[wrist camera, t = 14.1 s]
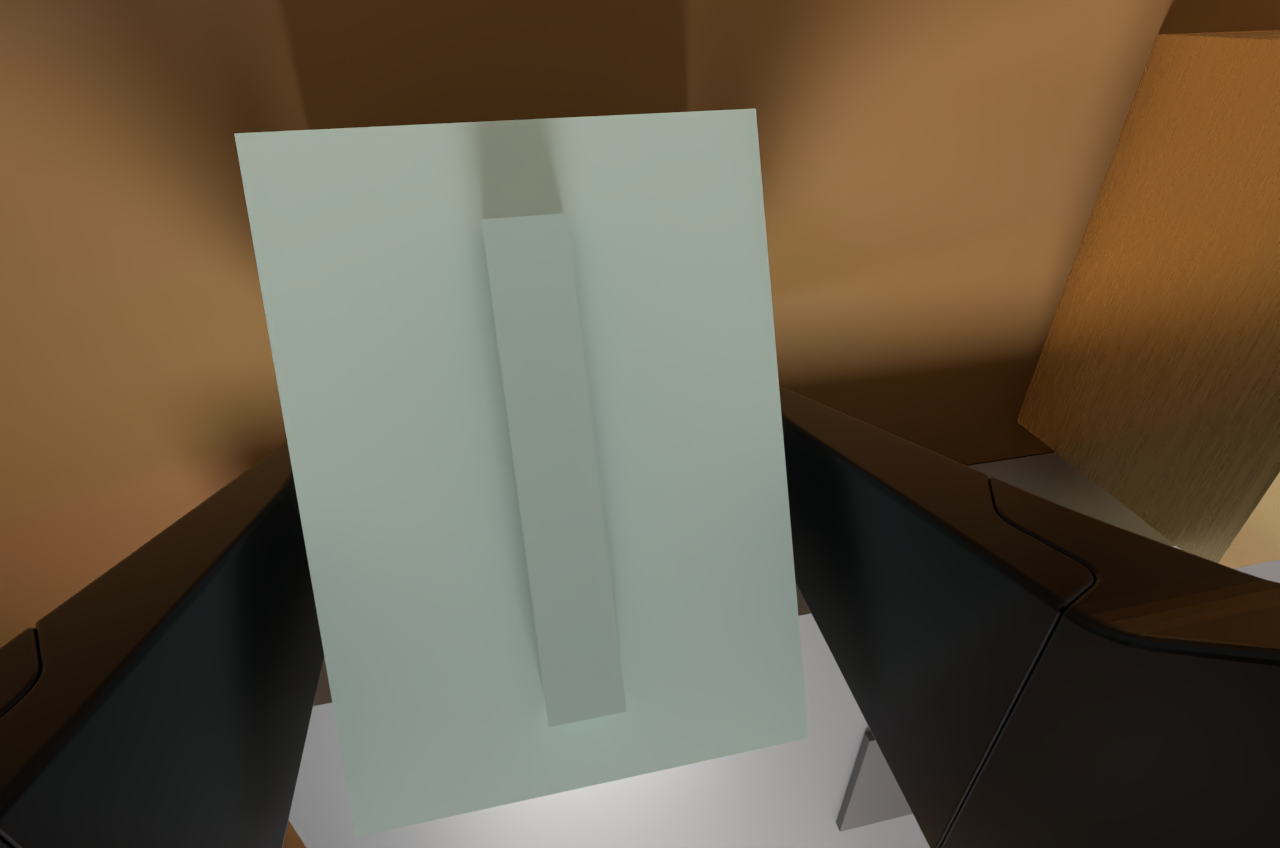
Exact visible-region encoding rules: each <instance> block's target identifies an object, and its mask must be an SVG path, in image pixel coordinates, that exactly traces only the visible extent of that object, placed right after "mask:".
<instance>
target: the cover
mask: <svg viewBox="0 0 1280 848" xmlns="http://www.w3.org/2000/svg"><path fill="white" fill-rule="evenodd" d="M234 135H235V141H236V147H237V153H238V158H239V164H240V170H241V176H242V182H243V187H244V193H245V199H246V205H247V211H248V216H249V222H250V228H251V234H252V240H253V245H254V251H255V257H256V263H257V269H258V274H259V280H260V286H261V292H262V298H263V303H264V309H265V315H266V321H267V327H268V332H269V338H270V344H271V350H272V356H273V361H274V367H275V373H276V379H277V385H278V390H279V396H280V402H281V408H282V414H283V419H284V425H285V431H286V437H287V443H288V448H289V454H290V460H291V466H292V472H293V477H294V483H295V489H296V495H297V501H298V506H299V512H300V518H301V524H302V530H303V535H304V541H305V547H306V553H307V559H308V564H309V570H310V576H311V582H312V588H313V593H314V599H315V605H316V611H317V617H318V622H319V628H320V634H321V640H322V646H323V651H324V657H325V663H326V669H327V675H328V680H329V686H330V692H331V698H332V704H333V709H334V715H335V721H336V727H337V733H338V738H339V744H340V750H341V756H342V762H343V767H344V773H345V779H346V785H347V791H348V796H349V802H350V808H351V814H352V820H353V825H354V831H355V837H360V836H364V835H369V834H373V833H378V832H382V831H387V830H392V829H396V828H401V827H405V826H410V825H414V824H419V823H423V822H428V821H433V820H437V819H442V818H446V817H451V816H455V815H460V814H465V813H469V812H474V811H478V810H483V809H487V808H492V807H497V806H501V805H506V804H510V803H515V802H519V801H524V800H529V799H533V798H538V797H542V796H547V795H551V794H556V793H560V792H565V791H570V790H574V789H579V788H583V787H588V786H592V785H597V784H602V783H606V782H611V781H615V780H620V779H624V778H629V777H634V776H638V775H643V774H647V773H652V772H656V771H661V770H665V769H670V768H675V767H679V766H684V765H688V764H693V763H697V762H702V761H707V760H711V759H716V758H720V757H725V756H729V755H734V754H739V753H743V752H748V751H752V750H757V749H761V748H766V747H771V746H775V745H780V744H784V743H789V742H793V741H798V740H802V739H807V738H809V737H808V725H807V713H806V701H805V689H804V677H803V665H802V653H801V641H800V630H799V618H798V606H797V594H796V582H795V570H794V558H793V546H792V534H791V522H790V510H789V498H788V486H787V474H786V462H785V450H784V438H783V427H782V415H781V403H780V391H779V379H778V367H777V355H776V343H775V331H774V319H773V307H772V295H771V283H770V271H769V259H768V247H767V236H766V224H765V212H764V200H763V188H762V176H761V164H760V152H759V140H758V128H757V116H756V109H735V110H714V111H693V112H672V113H651V114H630V115H609V116H588V117H567V118H546V119H525V120H504V121H483V122H462V123H441V124H421V125H400V126H379V127H358V128H337V129H316V130H295V131H274V132H253V133H234Z"/></svg>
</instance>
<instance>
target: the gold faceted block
mask: <svg viewBox="0 0 1280 848" xmlns="http://www.w3.org/2000/svg"><path fill="white" fill-rule="evenodd" d="M1016 422H1018V423H1019V424H1020V425H1022V426H1023V427H1024V428H1025V429H1027V430H1028V431H1029V432H1031V433H1032V434H1033V435H1034V436H1036V437H1037V438H1038V439H1040V440H1041V441H1042V442H1043V443H1045V444H1046V445H1047V446H1049V447H1050V448H1051V449H1052V450H1054V451H1055V452H1056V453H1058V454H1059V455H1060V456H1061V457H1063V458H1064V459H1065V460H1067V461H1068V462H1069V463H1070V464H1072V465H1073V466H1074V467H1076V468H1077V469H1078V470H1079V471H1081V472H1082V473H1083V474H1085V475H1086V476H1087V477H1088V478H1090V479H1091V480H1092V481H1094V482H1095V483H1096V484H1097V485H1099V486H1100V487H1101V488H1103V489H1104V490H1105V491H1106V492H1108V493H1109V494H1110V495H1112V496H1113V497H1114V498H1115V499H1117V500H1118V501H1119V502H1120V503H1122V504H1123V505H1124V506H1126V507H1127V508H1128V509H1129V510H1131V511H1132V512H1133V513H1135V514H1136V515H1137V516H1138V517H1140V518H1141V519H1142V520H1144V521H1145V522H1146V523H1147V524H1149V525H1150V526H1151V527H1153V528H1154V529H1155V530H1156V531H1158V532H1159V533H1160V534H1162V535H1163V536H1164V537H1165V538H1167V539H1168V540H1169V541H1171V542H1172V543H1173V544H1174V545H1176V546H1177V547H1178V548H1180V549H1181V550H1183V551H1186V552H1188V553H1191V554H1194V555H1197V556H1199V557H1202V558H1205V559H1208V560H1210V561H1213V562H1216V563H1219V564H1221V565H1224V566H1227V567H1230V568H1232V569H1235V568H1240V567H1245V566H1250V565H1255V564H1259V563H1264V562H1269V561H1274V560H1279V559H1280V30H1258V31H1232V32H1206V33H1180V34H1158V35H1157V38H1156V40H1155V43H1154V46H1153V48H1152V51H1151V54H1150V57H1149V59H1148V62H1147V65H1146V68H1145V70H1144V73H1143V76H1142V79H1141V81H1140V84H1139V87H1138V90H1137V92H1136V95H1135V98H1134V101H1133V103H1132V106H1131V109H1130V112H1129V114H1128V117H1127V120H1126V122H1125V125H1124V128H1123V131H1122V133H1121V136H1120V139H1119V142H1118V144H1117V147H1116V150H1115V153H1114V155H1113V158H1112V161H1111V164H1110V166H1109V169H1108V172H1107V175H1106V177H1105V180H1104V183H1103V185H1102V188H1101V191H1100V194H1099V196H1098V199H1097V202H1096V205H1095V207H1094V210H1093V213H1092V216H1091V218H1090V221H1089V224H1088V227H1087V229H1086V232H1085V235H1084V238H1083V240H1082V243H1081V246H1080V249H1079V251H1078V254H1077V257H1076V259H1075V262H1074V265H1073V268H1072V270H1071V273H1070V276H1069V279H1068V281H1067V284H1066V287H1065V290H1064V292H1063V295H1062V298H1061V301H1060V303H1059V306H1058V309H1057V312H1056V314H1055V317H1054V320H1053V323H1052V325H1051V328H1050V331H1049V333H1048V336H1047V339H1046V342H1045V344H1044V347H1043V350H1042V353H1041V355H1040V358H1039V361H1038V364H1037V366H1036V369H1035V372H1034V375H1033V377H1032V380H1031V383H1030V386H1029V388H1028V391H1027V394H1026V397H1025V399H1024V402H1023V405H1022V407H1021V410H1020V413H1019V416H1018V418H1017V421H1016Z"/></svg>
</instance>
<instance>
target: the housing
mask: <svg viewBox="0 0 1280 848" xmlns="http://www.w3.org/2000/svg"><path fill="white" fill-rule="evenodd" d="M969 467H971V468H973V469H976V470H978V471H980V472H983V473H985V474H986V475H987V476H988V479H989V478H990V477H995V478H997V479H999V480H1002V481H1004V482H1006V483H1008V484H1011V485H1013V486H1015V487H1018V488H1020V489H1022V490H1025V491H1027V492H1030V493H1032V494H1035V495H1037V496H1040V497H1042V498H1044V499H1047V500H1049V501H1052V502H1054V503H1057V504H1059V505H1061V506H1064V507H1067V508H1069V509H1072V510H1074V511H1077V512H1080V513H1082V514H1085V515H1088V516H1090V517H1093V518H1096V519H1098V520H1101V521H1104V522H1106V523H1109V524H1112V525H1114V526H1117V527H1120V528H1123V529H1125V530H1128V531H1131V532H1133V533H1136V534H1139V535H1142V536H1144V537H1147V538H1150V539H1153V540H1155V541H1158V542H1161V543H1164V544H1166V545H1169V546H1172V547H1175V548H1177V549H1180V548H1178V547H1177V546H1176V545H1174V544H1173V543H1172V542H1171V541H1169V540H1168V539H1167V538H1165V537H1164V536H1163V535H1162V534H1160V533H1159V532H1158V531H1156V530H1155V529H1154V528H1153V527H1151V526H1150V525H1149V524H1147V523H1146V522H1145V521H1144V520H1142V519H1141V518H1140V517H1138V516H1137V515H1136V514H1135V513H1133V512H1132V511H1131V510H1129V509H1128V508H1127V507H1126V506H1124V505H1123V504H1122V503H1120V502H1119V501H1118V500H1117V499H1115V498H1114V497H1113V496H1112V495H1110V494H1109V493H1108V492H1106V491H1105V490H1104V489H1103V488H1101V487H1100V486H1099V485H1097V484H1096V483H1095V482H1094V481H1092V480H1091V479H1090V478H1088V477H1087V476H1086V475H1085V474H1083V473H1082V472H1081V471H1079V470H1078V469H1077V468H1076V467H1074V466H1073V465H1072V464H1070V463H1069V462H1068V461H1067V460H1065V459H1064V458H1063V457H1061V456H1060V455H1059V454H1058V453H1056V452H1055V453H1048V454H1042V455H1035V456H1029V457H1022V458H1015V459H1009V460H1002V461H996V462H989V463H982V464H976V465H969ZM1180 550H1181V549H1180ZM1235 570H1238V571H1241V572H1244V573H1247V574H1250V575H1253V576H1256V577H1259V578H1262V579H1265V580H1269V581H1274V582H1278V583H1280V559H1279V560H1274V561H1269V562H1264V563H1259V564H1255V565H1250V566H1245V567H1240V568H1235ZM796 594H797V606H798V618H799V630H800V641H801V653H802V665H803V677H804V689H805V701H806V713H807V725H808V737H809V738H807V739H802V740H798V741H793V742H789V743H784V744H780V745H775V746H771V747H766V748H761V749H757V750H752V751H748V752H743V753H739V754H734V755H729V756H725V757H720V758H716V759H711V760H707V761H702V762H697V763H693V764H688V765H684V766H679V767H675V768H670V769H665V770H661V771H656V772H652V773H647V774H643V775H638V776H634V777H629V778H624V779H620V780H615V781H611V782H606V783H602V784H597V785H592V786H588V787H583V788H579V789H574V790H570V791H565V792H560V793H556V794H551V795H547V796H542V797H538V798H533V799H529V800H524V801H519V802H515V803H510V804H506V805H501V806H497V807H492V808H487V809H483V810H478V811H474V812H469V813H465V814H460V815H455V816H451V817H446V818H442V819H437V820H433V821H428V822H423V823H419V824H414V825H410V826H405V827H401V828H396V829H392V830H387V831H382V832H378V833H373V834H369V835H364V836H360V837H355V831H354V825H353V820H352V814H351V808H350V802H349V796H348V791H347V785H346V779H345V773H344V767H343V762H342V756H341V750H340V744H339V738H338V733H337V727H336V721H335V715H334V709H333V704H332V698H331V692H330V686H329V680H328V675H327V669H326V663H325V657H324V659H323V664H322V668H321V673H320V677H319V682H318V687H317V691H316V696H315V700H314V705H313V710H312V714H311V719H310V723H309V728H308V733H307V737H306V742H305V746H304V751H303V756H302V760H301V765H300V769H299V774H298V779H297V783H296V788H295V792H294V797H293V802H292V806H291V811H290V815H289V821H290V823H291V824H292V826H293V828H294V829H295V831H296V832H297V834H298V835H299V837H300V839H301V840H302V842H303V843H304V845H305V846H306V848H930V847H929V845H928V843H927V841H926V839H925V837H924V835H923V833H922V831H921V829H920V827H919V825H918V823H917V821H916V819H915V817H914V815H913V813H912V811H911V809H910V807H909V805H908V804H907V802H906V800H905V798H904V796H903V794H902V792H901V790H900V788H899V786H898V784H897V782H896V780H895V778H894V776H893V774H892V772H891V770H890V768H889V766H888V764H887V762H886V760H885V758H884V756H883V754H882V752H881V750H880V748H879V746H878V744H877V742H876V740H875V738H874V736H873V734H872V732H871V730H870V728H869V726H868V724H867V723H866V721H865V719H864V717H863V715H862V713H861V711H860V709H859V707H858V705H857V703H856V701H855V699H854V697H853V695H852V693H851V691H850V689H849V687H848V685H847V683H846V681H845V679H844V677H843V675H842V673H841V671H840V669H839V667H838V665H837V663H836V661H835V659H834V657H833V655H832V653H831V651H830V649H829V647H828V645H827V643H826V642H825V640H824V638H823V636H822V634H821V632H820V630H819V628H818V626H817V624H816V622H815V620H814V618H813V616H812V614H811V612H810V610H809V608H808V606H807V604H806V602H805V600H804V598H803V596H802V594H801V592H800V590H799V588H798V586H797V584H796Z"/></svg>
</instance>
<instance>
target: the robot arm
mask: <svg viewBox="0 0 1280 848" xmlns="http://www.w3.org/2000/svg"><path fill="white" fill-rule="evenodd" d="M779 391H780V403H781V415H782V427H783V438H784V450H785V462H786V474H787V486H788V498H789V510H790V522H791V534H792V546H793V558H794V570H795V582H796V584H797V586H798V588H799V590H800V592H801V594H802V596H803V598H804V600H805V602H806V604H807V606H808V608H809V610H810V612H811V614H812V616H813V618H814V620H815V622H816V624H817V626H818V628H819V630H820V632H821V634H822V636H823V638H824V640H825V642H826V643H827V645H828V647H829V649H830V651H831V653H832V655H833V657H834V659H835V661H836V663H837V665H838V667H839V669H840V671H841V673H842V675H843V677H844V679H845V681H846V683H847V685H848V687H849V689H850V691H851V693H852V695H853V697H854V699H855V701H856V703H857V705H858V707H859V709H860V711H861V713H862V715H863V717H864V719H865V721H866V723H867V724H868V726H869V728H870V730H871V732H872V734H873V736H874V738H875V740H876V742H877V744H878V746H879V748H880V750H881V752H882V754H883V756H884V758H885V760H886V762H887V764H888V766H889V768H890V770H891V772H892V774H893V776H894V778H895V780H896V782H897V784H898V786H899V788H900V790H901V792H902V794H903V796H904V798H905V800H906V802H907V804H908V805H909V807H910V809H911V811H912V813H913V815H914V817H915V819H916V821H917V823H918V825H919V827H920V829H921V831H922V833H923V835H924V837H925V839H926V841H927V843H928V845H929V847H930V848H1280V583H1278V582H1274V581H1269V580H1265V579H1262V578H1259V577H1256V576H1253V575H1250V574H1247V573H1244V572H1241V571H1238V570H1235V569H1232V568H1230V567H1227V566H1224V565H1221V564H1219V563H1216V562H1213V561H1210V560H1208V559H1205V558H1202V557H1199V556H1197V555H1194V554H1191V553H1188V552H1186V551H1183V550H1180V549H1177V548H1175V547H1172V546H1169V545H1166V544H1164V543H1161V542H1158V541H1155V540H1153V539H1150V538H1147V537H1144V536H1142V535H1139V534H1136V533H1133V532H1131V531H1128V530H1125V529H1123V528H1120V527H1117V526H1114V525H1112V524H1109V523H1106V522H1104V521H1101V520H1098V519H1096V518H1093V517H1090V516H1088V515H1085V514H1082V513H1080V512H1077V511H1074V510H1072V509H1069V508H1067V507H1064V506H1061V505H1059V504H1057V503H1054V502H1052V501H1049V500H1047V499H1044V498H1042V497H1040V496H1037V495H1035V494H1032V493H1030V492H1027V491H1025V490H1022V489H1020V488H1018V487H1015V486H1013V485H1011V484H1008V483H1006V482H1004V481H1002V480H999V479H997V478H995V477H990V478H989V479H988V476H987V475H986V474H985V473H983V472H980V471H978V470H976V469H973V468H971V467H969V466H966V465H964V464H962V463H959V462H957V461H954V460H952V459H950V458H947V457H945V456H943V455H940V454H938V453H936V452H933V451H931V450H929V449H926V448H924V447H922V446H919V445H917V444H915V443H912V442H910V441H908V440H905V439H903V438H901V437H898V436H896V435H894V434H891V433H889V432H887V431H884V430H882V429H880V428H877V427H875V426H873V425H870V424H868V423H866V422H863V421H861V420H859V419H856V418H854V417H852V416H849V415H847V414H845V413H842V412H840V411H838V410H835V409H833V408H831V407H828V406H826V405H824V404H821V403H819V402H817V401H814V400H812V399H810V398H807V397H805V396H803V395H800V394H798V393H796V392H793V391H791V390H789V389H786V388H784V387H782V386H779ZM323 659H324V651H323V646H322V640H321V634H320V628H319V622H318V617H317V611H316V605H315V599H314V593H313V588H312V582H311V576H310V570H309V564H308V559H307V553H306V547H305V541H304V535H303V530H302V524H301V518H300V512H299V506H298V501H297V495H296V489H295V483H294V477H293V472H292V466H291V460H290V454H289V448H288V443H287V442H286V443H284V444H283V445H281V446H280V447H279V448H277V449H276V450H275V451H273V452H272V453H270V454H269V455H268V456H266V457H265V458H263V459H262V460H261V461H259V462H258V463H257V464H255V465H254V466H252V467H251V468H250V469H248V470H247V471H245V472H244V473H243V474H241V475H240V476H238V477H237V478H236V479H234V480H233V481H232V482H230V483H229V484H227V485H226V486H225V487H223V488H222V489H220V490H219V491H218V492H216V493H215V494H214V495H212V496H211V497H209V498H208V499H207V500H205V501H204V502H202V503H201V504H200V505H198V506H197V507H196V508H194V509H193V510H191V511H190V512H189V513H187V514H186V515H184V516H183V517H182V518H180V519H179V520H178V521H176V522H175V523H173V524H172V525H171V526H169V527H168V528H166V529H165V530H164V531H162V532H161V533H159V534H158V535H157V536H155V537H154V538H153V539H151V540H150V541H148V542H147V543H146V544H144V545H143V546H141V547H140V548H139V549H137V550H136V551H135V552H133V553H132V554H130V555H129V556H128V557H126V558H125V559H123V560H122V561H121V562H119V563H118V564H117V565H115V566H114V567H112V568H111V569H110V570H108V571H107V572H105V573H104V574H103V575H101V576H100V577H99V578H97V579H96V580H94V581H93V582H92V583H90V584H89V585H87V586H86V587H85V588H83V589H82V590H81V591H79V592H78V593H76V594H75V595H74V596H72V597H71V598H69V599H68V600H67V601H65V602H64V603H62V604H61V605H60V606H58V607H57V608H56V609H54V610H53V611H51V612H50V613H49V614H47V615H46V616H44V617H43V618H42V619H40V620H39V621H38V622H37V623H36V629H35V628H28V629H26V630H25V631H23V632H22V633H21V634H19V635H18V636H16V637H15V638H14V639H12V640H11V641H10V642H8V643H7V644H6V645H4V646H3V647H1V648H0V848H283V843H284V838H285V834H286V829H287V825H288V820H289V815H290V811H291V806H292V802H293V797H294V792H295V788H296V783H297V779H298V774H299V769H300V765H301V760H302V756H303V751H304V746H305V742H306V737H307V733H308V728H309V723H310V719H311V714H312V710H313V705H314V700H315V696H316V691H317V687H318V682H319V677H320V673H321V668H322V664H323Z"/></svg>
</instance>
